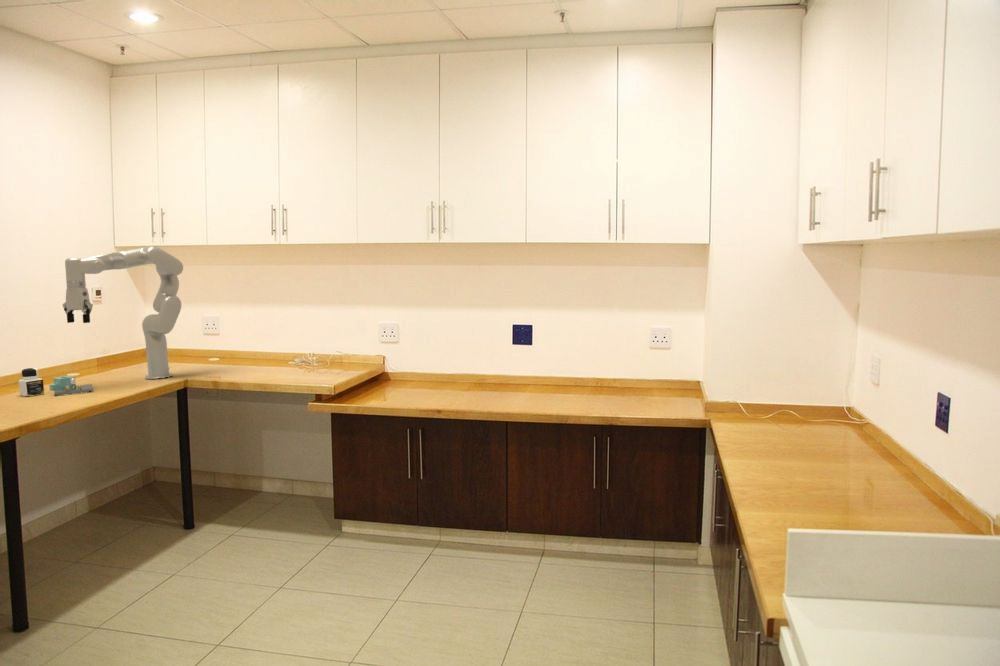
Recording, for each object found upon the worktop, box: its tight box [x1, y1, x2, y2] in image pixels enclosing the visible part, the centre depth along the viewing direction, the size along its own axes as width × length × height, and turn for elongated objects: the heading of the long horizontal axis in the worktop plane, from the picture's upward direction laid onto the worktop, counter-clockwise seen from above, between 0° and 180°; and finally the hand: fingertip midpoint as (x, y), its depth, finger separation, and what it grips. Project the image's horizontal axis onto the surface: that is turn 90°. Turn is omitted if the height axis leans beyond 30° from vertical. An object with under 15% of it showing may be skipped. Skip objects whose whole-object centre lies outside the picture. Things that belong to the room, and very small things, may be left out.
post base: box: [53, 377, 94, 396], centre depth 332 cm, size 15×15×6 cm
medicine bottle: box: [18, 367, 45, 397], centre depth 326 cm, size 7×7×12 cm
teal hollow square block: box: [49, 375, 75, 391], centre depth 341 cm, size 9×6×5 cm
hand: (78, 322), depth 334 cm, fingers open, 9 cm apart
